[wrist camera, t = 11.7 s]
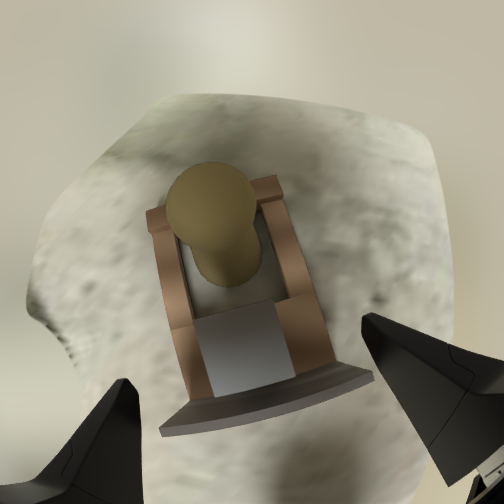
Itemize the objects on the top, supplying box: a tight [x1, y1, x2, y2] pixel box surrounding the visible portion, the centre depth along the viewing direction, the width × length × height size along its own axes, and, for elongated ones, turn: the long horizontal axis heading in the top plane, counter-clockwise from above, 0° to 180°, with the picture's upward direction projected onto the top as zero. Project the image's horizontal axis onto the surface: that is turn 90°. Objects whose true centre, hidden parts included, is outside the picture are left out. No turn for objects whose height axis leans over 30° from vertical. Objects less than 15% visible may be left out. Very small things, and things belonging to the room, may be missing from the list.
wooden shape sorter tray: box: [146, 175, 375, 437], centre depth 17 cm, size 18×12×11 cm, turn 16°
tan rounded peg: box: [166, 162, 262, 287], centre depth 19 cm, size 6×6×11 cm
